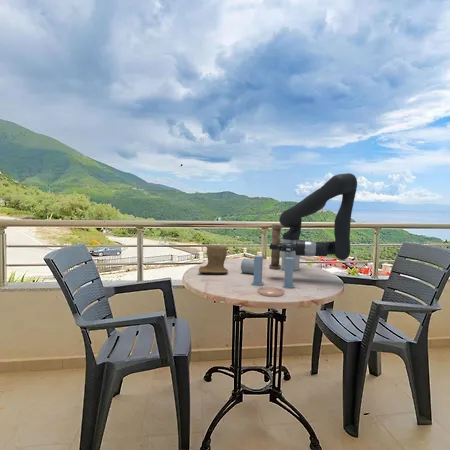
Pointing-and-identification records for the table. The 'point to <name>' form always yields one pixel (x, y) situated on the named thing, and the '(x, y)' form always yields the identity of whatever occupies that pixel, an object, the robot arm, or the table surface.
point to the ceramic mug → (247, 266)
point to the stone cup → (215, 260)
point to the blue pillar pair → (288, 271)
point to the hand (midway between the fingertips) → (270, 246)
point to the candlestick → (276, 241)
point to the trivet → (270, 291)
